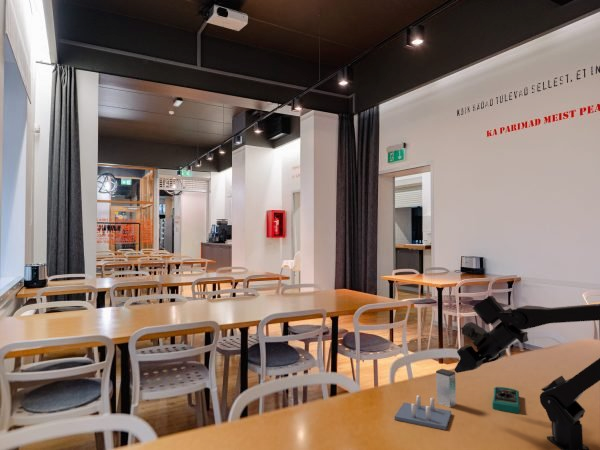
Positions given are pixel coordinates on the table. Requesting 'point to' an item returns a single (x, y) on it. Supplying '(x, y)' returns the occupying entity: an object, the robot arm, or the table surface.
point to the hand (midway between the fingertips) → (463, 368)
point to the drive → (446, 387)
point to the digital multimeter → (506, 400)
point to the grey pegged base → (423, 414)
